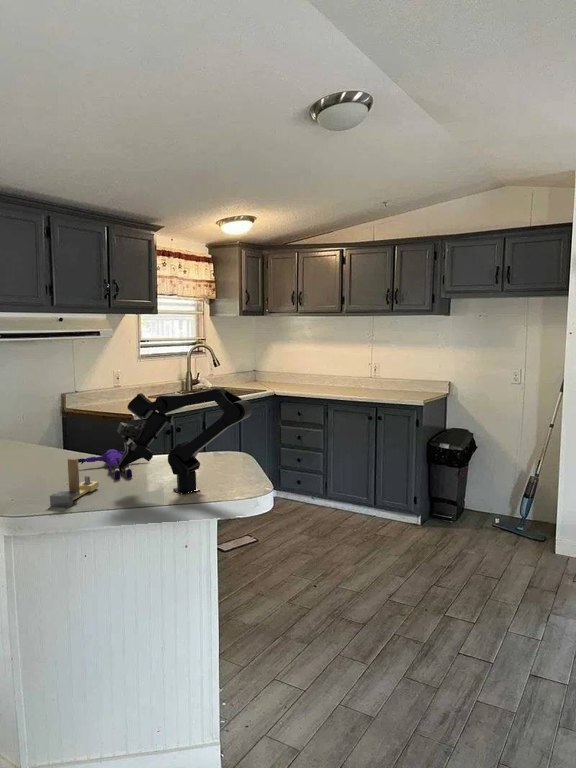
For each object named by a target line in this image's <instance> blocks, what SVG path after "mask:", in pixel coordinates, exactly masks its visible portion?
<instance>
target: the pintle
mask: <svg viewBox="0 0 576 768" xmlns="http://www.w3.org/2000/svg"><path fill="white" fill-rule="evenodd" d="M83 478H84V481H85V485H90V481H91V477H90V475H85V476H84V477H83ZM94 491H95V490H93V491H88V492H87V493H92V492H94Z"/></svg>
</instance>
